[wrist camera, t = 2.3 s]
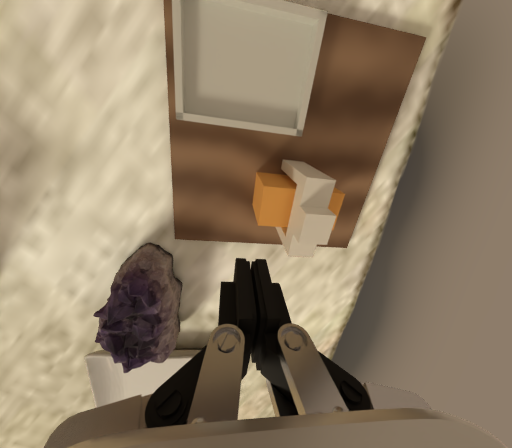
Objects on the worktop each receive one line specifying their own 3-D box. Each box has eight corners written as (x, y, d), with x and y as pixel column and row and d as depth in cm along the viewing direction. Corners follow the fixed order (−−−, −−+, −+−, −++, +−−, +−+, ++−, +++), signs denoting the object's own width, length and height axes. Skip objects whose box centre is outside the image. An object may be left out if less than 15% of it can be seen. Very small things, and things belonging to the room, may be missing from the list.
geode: (100, 236, 30) (60, 283, 21) (185, 239, 33) (181, 280, 24) (112, 335, 38) (87, 399, 29) (180, 329, 41) (176, 384, 32)
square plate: (222, 406, 55) (221, 425, 52) (108, 410, 50) (99, 432, 46) (239, 340, 44) (239, 359, 40) (93, 336, 39) (80, 358, 35)
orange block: (256, 171, 27) (263, 186, 21) (321, 178, 28) (345, 193, 22) (252, 204, 29) (258, 225, 23) (313, 209, 30) (333, 230, 24)
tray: (176, -14, 19) (170, -28, 17) (319, 20, 21) (327, 11, 19) (180, 119, 23) (175, 119, 21) (296, 135, 25) (301, 136, 24)
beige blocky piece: (282, 159, 26) (314, 182, 17) (303, 161, 27) (346, 186, 17) (272, 219, 30) (292, 267, 20) (290, 220, 30) (319, 267, 21)
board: (165, -20, 19) (162, -27, 18) (418, 40, 23) (426, 37, 22) (176, 235, 31) (175, 239, 30) (343, 244, 35) (346, 247, 34)
